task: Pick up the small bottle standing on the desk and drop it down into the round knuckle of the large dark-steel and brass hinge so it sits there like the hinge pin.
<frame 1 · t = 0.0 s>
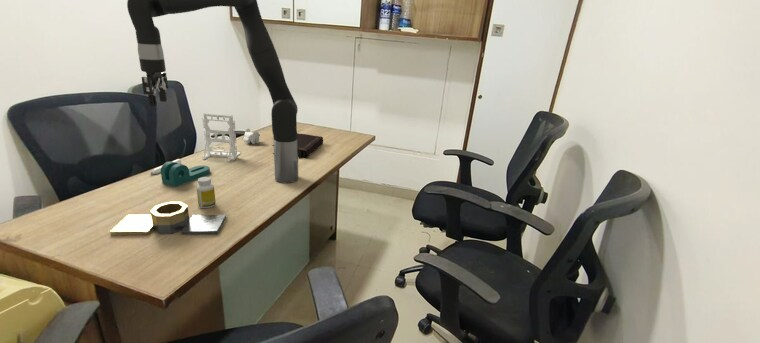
hand: (158, 103, 131), 29 cm above the table, tool pointing down, fingers open, 8 cm apart
bracket: (189, 178, 143), on the table
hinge: (172, 226, 109), on the table
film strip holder: (222, 156, 167), on the table
elephant figurine: (251, 143, 188), on the table
diary: (298, 150, 186), on the table
marker: (165, 170, 148), on the table
supplement bottle: (207, 205, 123), on the table
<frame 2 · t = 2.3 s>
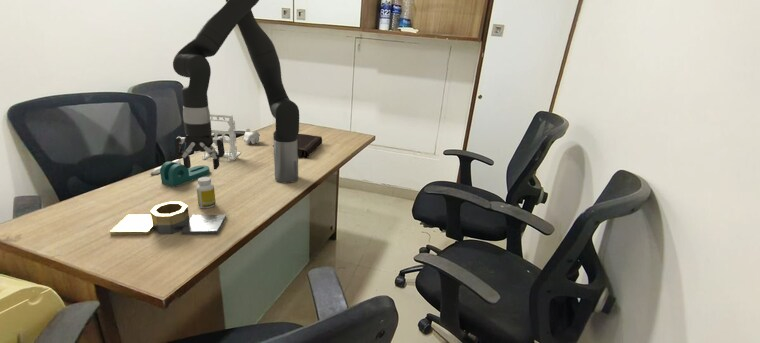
hand: (202, 168, 118), 14 cm above the table, tool pointing down, fingers open, 8 cm apart
nothing on the table moved.
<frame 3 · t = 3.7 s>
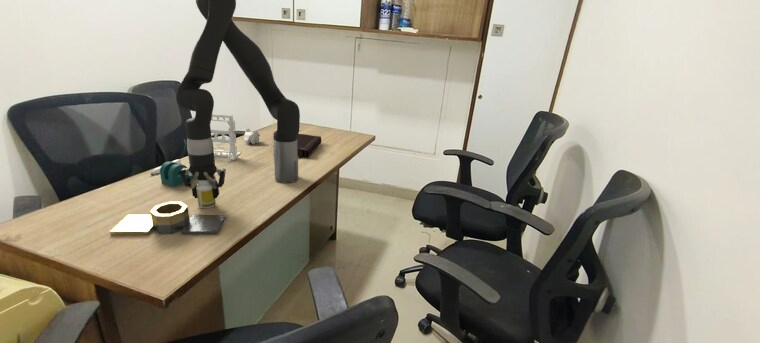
hand: (206, 197, 122), 3 cm above the table, tool pointing down, fingers closed on supplement bottle, 5 cm apart
supplement bottle: (207, 205, 123), on the table, touching gripper
everything else where it was.
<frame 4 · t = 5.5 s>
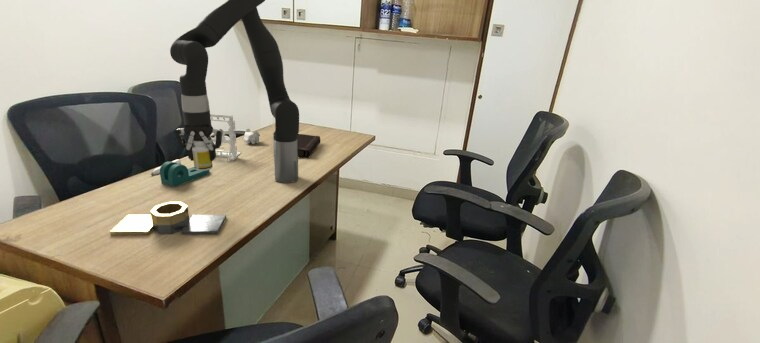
hand: (202, 159, 117), 17 cm above the table, tool pointing down, fingers closed on supplement bottle, 5 cm apart
supplement bottle: (203, 169, 118), point 13 cm above the table, touching gripper
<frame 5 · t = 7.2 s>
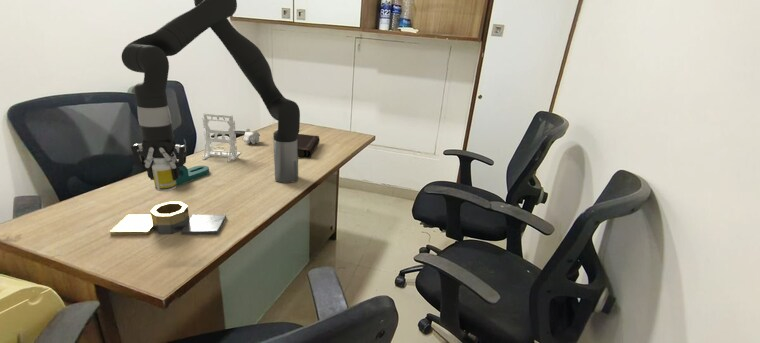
hand: (164, 178, 103), 16 cm above the table, tool pointing down, fingers closed on supplement bottle, 5 cm apart
supplement bottle: (166, 188, 104), point 13 cm above the table, touching gripper
when the fingers open (7 cm above the table, at t = 9.0 s): supplement bottle drops 4 cm, resting in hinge.
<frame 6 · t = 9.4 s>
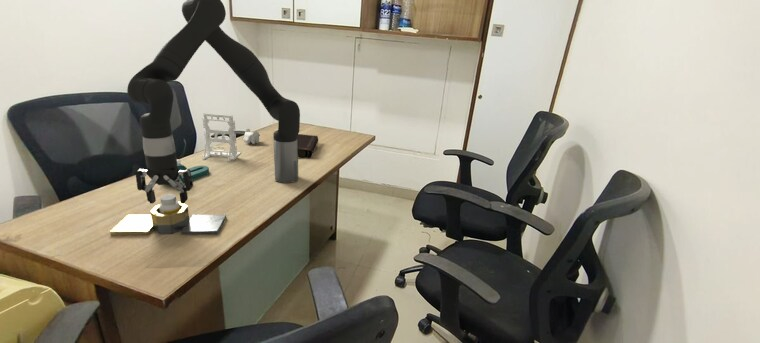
hand: (168, 202, 106), 8 cm above the table, tool pointing down, fingers open, 8 cm apart
supplement bottle: (172, 226, 109), resting in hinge
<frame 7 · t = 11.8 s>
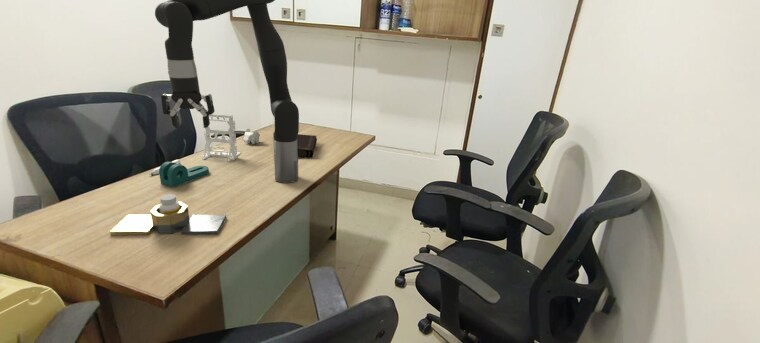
hand: (191, 127, 113), 27 cm above the table, tool pointing down, fingers open, 8 cm apart
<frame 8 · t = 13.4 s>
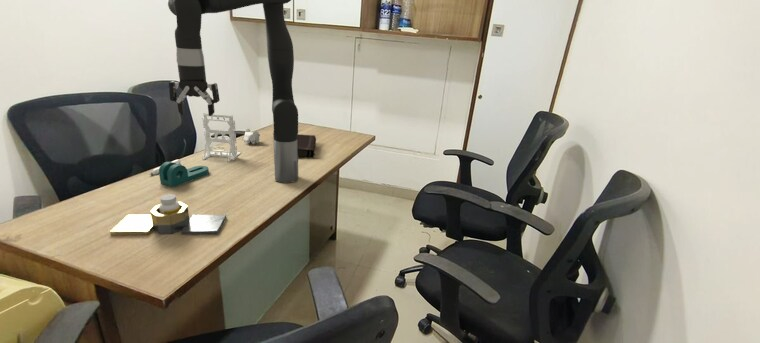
hand: (197, 114, 117), 30 cm above the table, tool pointing down, fingers open, 8 cm apart
at the end: supplement bottle 0.1 cm off-centre on the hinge, point 0.0 cm above the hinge's base; supplement bottle tilted 0°; the gripper is holding nothing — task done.
